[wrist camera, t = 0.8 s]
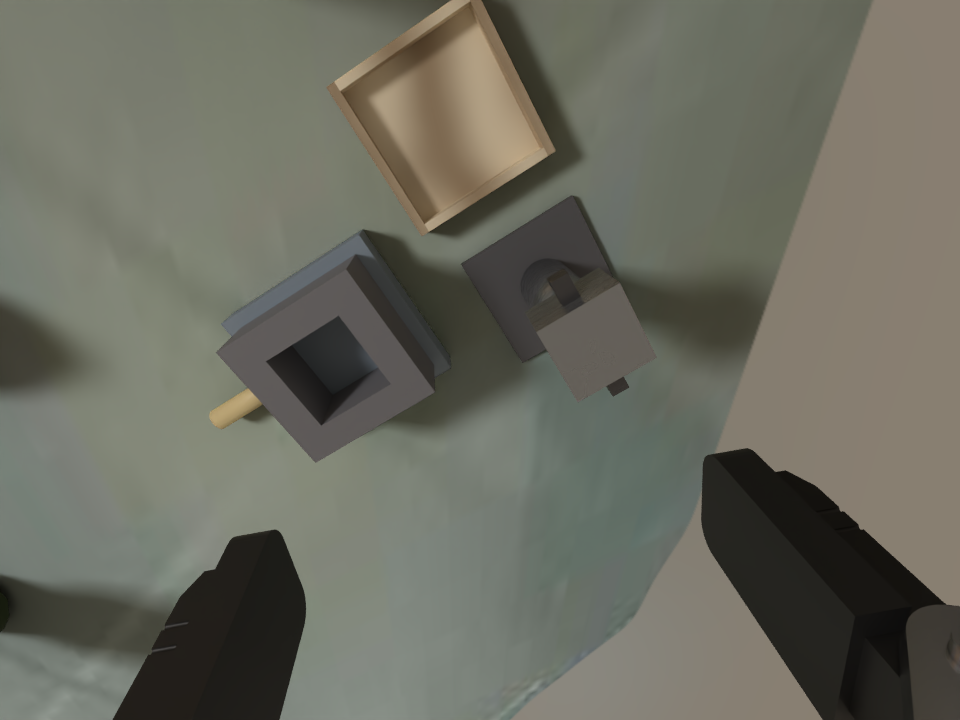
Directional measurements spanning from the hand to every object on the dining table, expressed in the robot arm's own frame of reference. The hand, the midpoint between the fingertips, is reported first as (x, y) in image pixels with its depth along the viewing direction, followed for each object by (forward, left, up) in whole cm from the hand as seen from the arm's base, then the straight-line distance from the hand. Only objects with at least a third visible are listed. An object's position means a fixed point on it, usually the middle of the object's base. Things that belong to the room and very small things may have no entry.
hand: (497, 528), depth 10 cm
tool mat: (-5, +5, -25) cm, 26 cm away
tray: (-4, -7, -25) cm, 26 cm away
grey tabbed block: (-5, +5, -25) cm, 26 cm away
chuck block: (+11, +1, -25) cm, 27 cm away
